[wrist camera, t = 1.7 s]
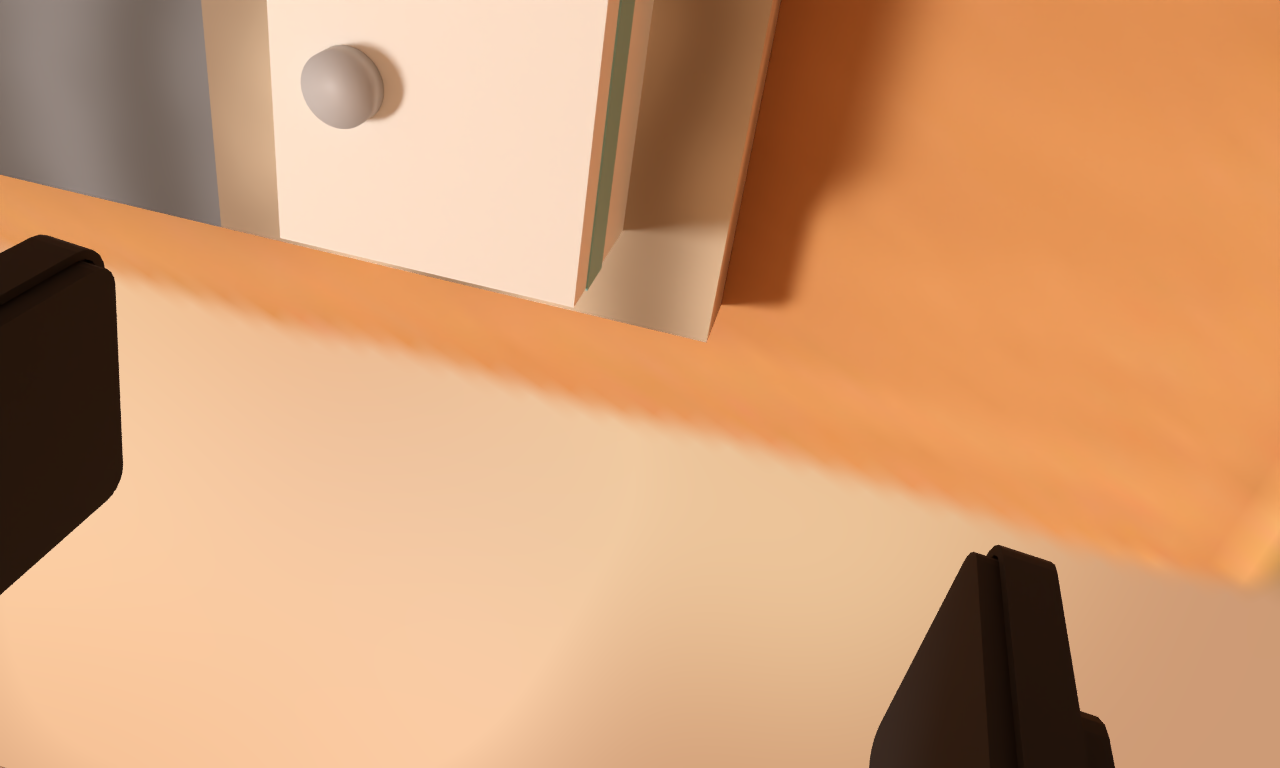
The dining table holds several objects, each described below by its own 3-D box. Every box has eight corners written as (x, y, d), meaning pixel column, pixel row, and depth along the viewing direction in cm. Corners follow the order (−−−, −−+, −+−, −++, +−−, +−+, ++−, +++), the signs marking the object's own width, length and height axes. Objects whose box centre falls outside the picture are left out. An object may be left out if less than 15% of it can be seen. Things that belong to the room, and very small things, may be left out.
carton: (670, -106, 26) (611, -71, 21) (624, 232, 31) (568, 320, 26) (361, -163, 27) (241, -141, 23) (364, 173, 32) (266, 248, 27)
